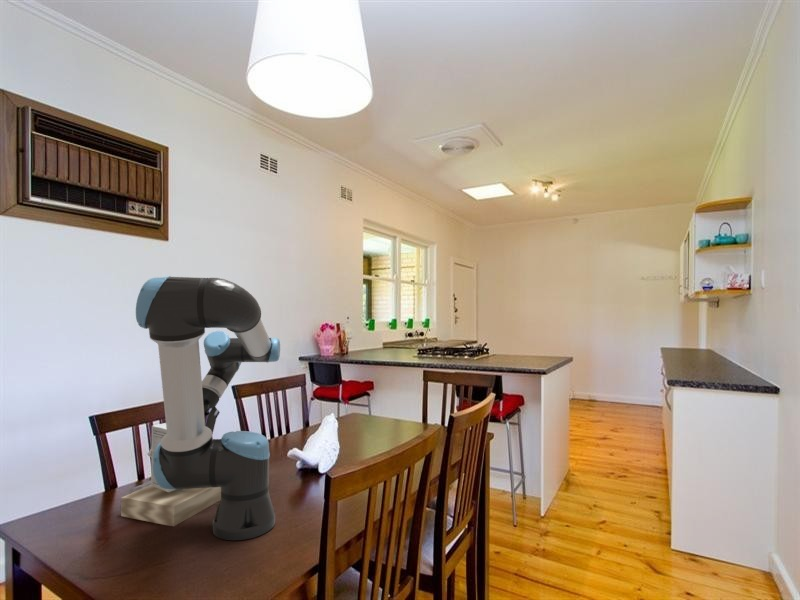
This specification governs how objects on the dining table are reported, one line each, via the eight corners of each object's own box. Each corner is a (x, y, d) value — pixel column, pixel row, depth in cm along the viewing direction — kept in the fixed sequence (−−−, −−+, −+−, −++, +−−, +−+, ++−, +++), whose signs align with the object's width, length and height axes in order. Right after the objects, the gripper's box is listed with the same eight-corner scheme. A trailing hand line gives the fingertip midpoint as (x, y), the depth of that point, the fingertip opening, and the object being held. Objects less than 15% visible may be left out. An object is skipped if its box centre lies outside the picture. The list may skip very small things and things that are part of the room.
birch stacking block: (222, 498, 130) (222, 481, 131) (173, 526, 113) (174, 506, 114) (174, 491, 136) (174, 474, 136) (121, 516, 119) (121, 497, 119)
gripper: (245, 402, 137) (208, 470, 121) (185, 398, 144) (142, 461, 129) (234, 388, 132) (194, 456, 117) (172, 384, 139) (126, 448, 124)
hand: (167, 459), depth 123 cm, fingers closed on supplement box, 11 cm apart
